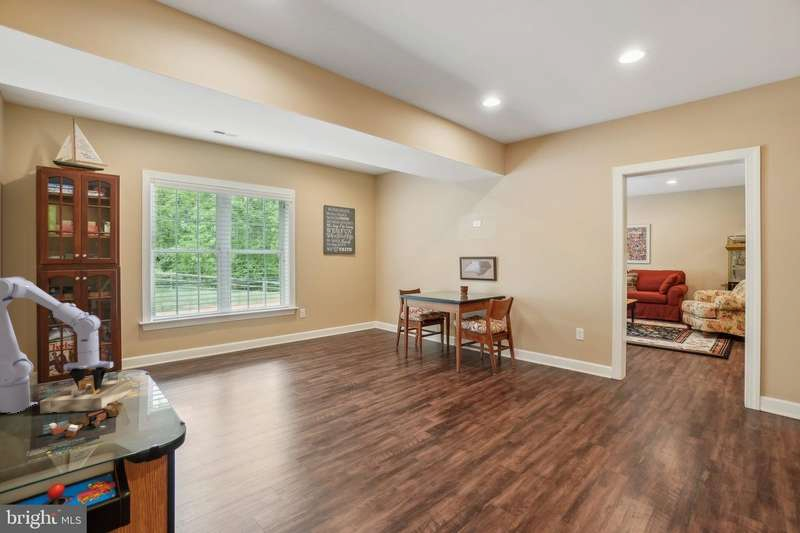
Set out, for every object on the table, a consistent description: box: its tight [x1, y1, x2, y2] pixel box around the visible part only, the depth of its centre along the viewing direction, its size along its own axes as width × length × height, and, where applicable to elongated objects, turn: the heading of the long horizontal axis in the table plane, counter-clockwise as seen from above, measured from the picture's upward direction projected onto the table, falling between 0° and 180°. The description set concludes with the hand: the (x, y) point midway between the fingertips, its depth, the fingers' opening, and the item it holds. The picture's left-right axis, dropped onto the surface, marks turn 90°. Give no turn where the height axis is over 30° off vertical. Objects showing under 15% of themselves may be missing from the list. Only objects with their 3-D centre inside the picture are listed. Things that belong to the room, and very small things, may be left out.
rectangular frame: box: [39, 379, 133, 414], centre depth 131 cm, size 18×18×5 cm
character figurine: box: [48, 400, 124, 438], centre depth 114 cm, size 10×18×4 cm, turn 164°
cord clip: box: [78, 377, 99, 395], centre depth 130 cm, size 5×3×5 cm, turn 99°
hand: (89, 389), depth 131 cm, fingers closed on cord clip, 4 cm apart
